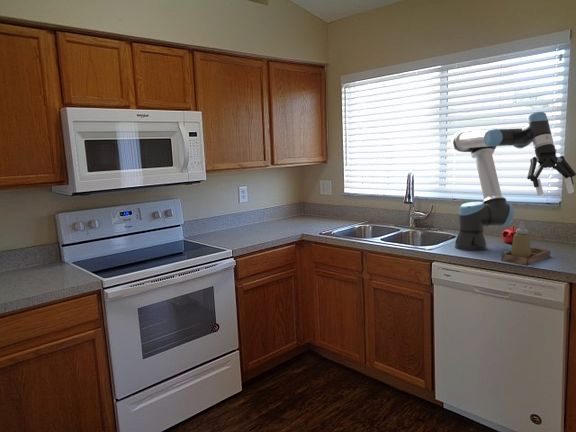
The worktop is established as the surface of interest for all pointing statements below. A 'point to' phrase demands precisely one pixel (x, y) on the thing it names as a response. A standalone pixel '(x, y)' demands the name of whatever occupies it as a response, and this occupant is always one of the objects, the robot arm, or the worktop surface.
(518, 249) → the squeeze bottle
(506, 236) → the pomegranate
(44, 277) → the worktop surface
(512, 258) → the organizer
